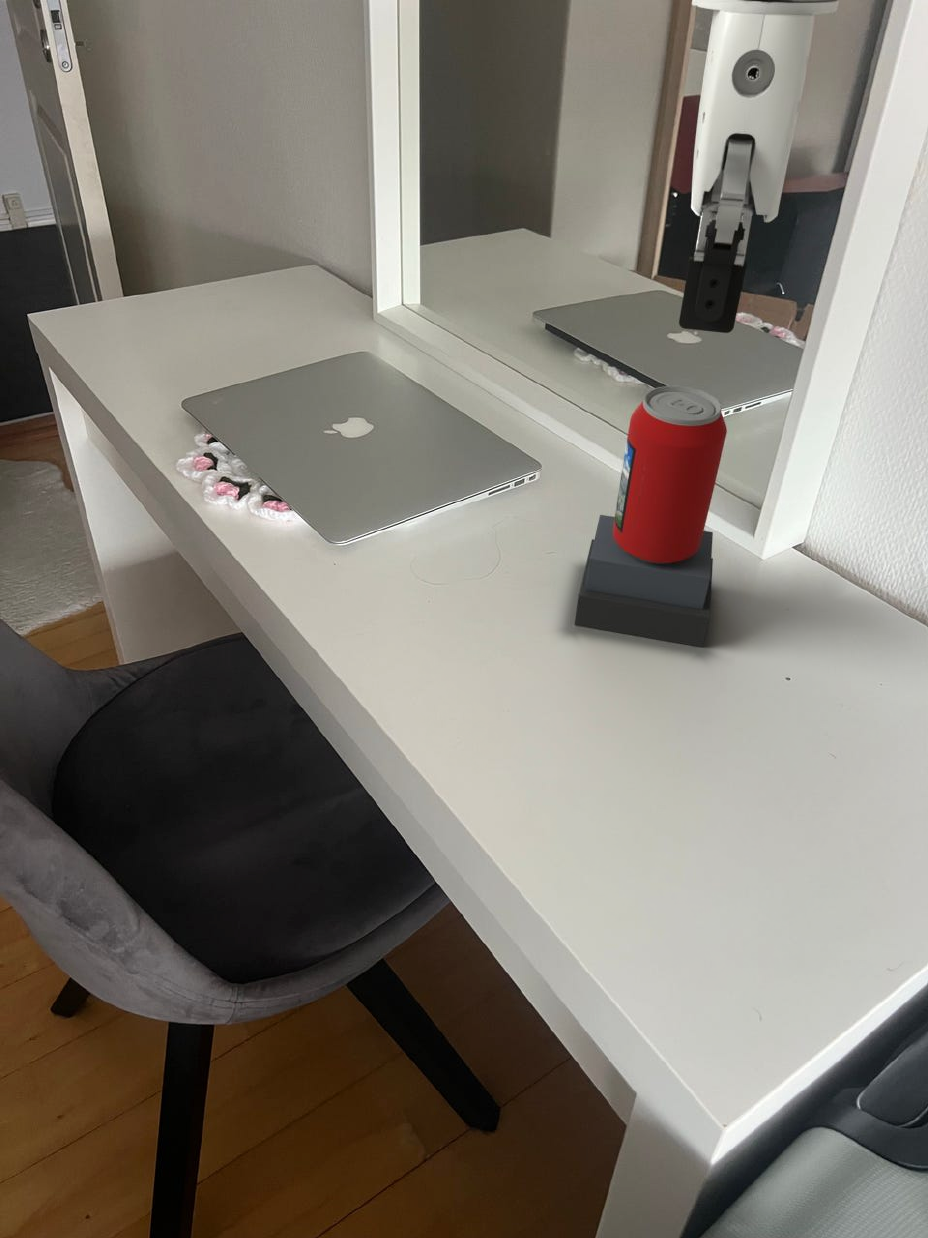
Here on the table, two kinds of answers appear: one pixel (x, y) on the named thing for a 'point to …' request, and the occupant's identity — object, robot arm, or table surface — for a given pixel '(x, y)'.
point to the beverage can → (669, 473)
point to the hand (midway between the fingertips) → (707, 301)
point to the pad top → (648, 571)
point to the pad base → (642, 615)
